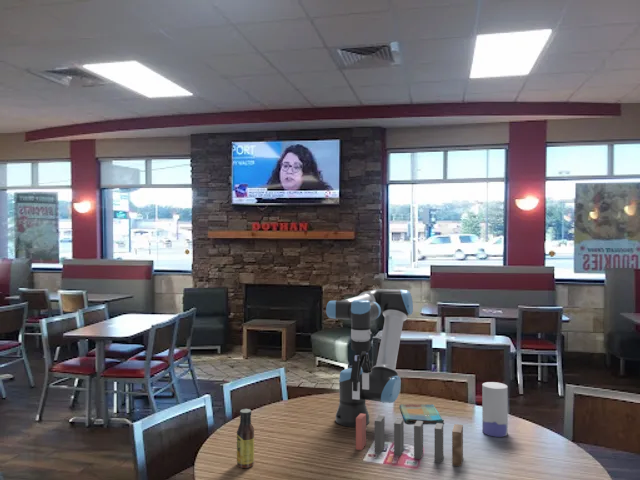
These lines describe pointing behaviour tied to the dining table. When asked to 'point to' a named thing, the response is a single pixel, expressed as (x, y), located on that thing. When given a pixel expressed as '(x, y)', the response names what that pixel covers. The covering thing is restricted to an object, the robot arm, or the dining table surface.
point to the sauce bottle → (245, 440)
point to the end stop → (457, 445)
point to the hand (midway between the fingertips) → (360, 394)
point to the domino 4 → (438, 442)
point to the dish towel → (420, 413)
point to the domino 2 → (398, 436)
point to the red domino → (360, 431)
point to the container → (495, 409)
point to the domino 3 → (418, 439)
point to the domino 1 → (379, 434)
